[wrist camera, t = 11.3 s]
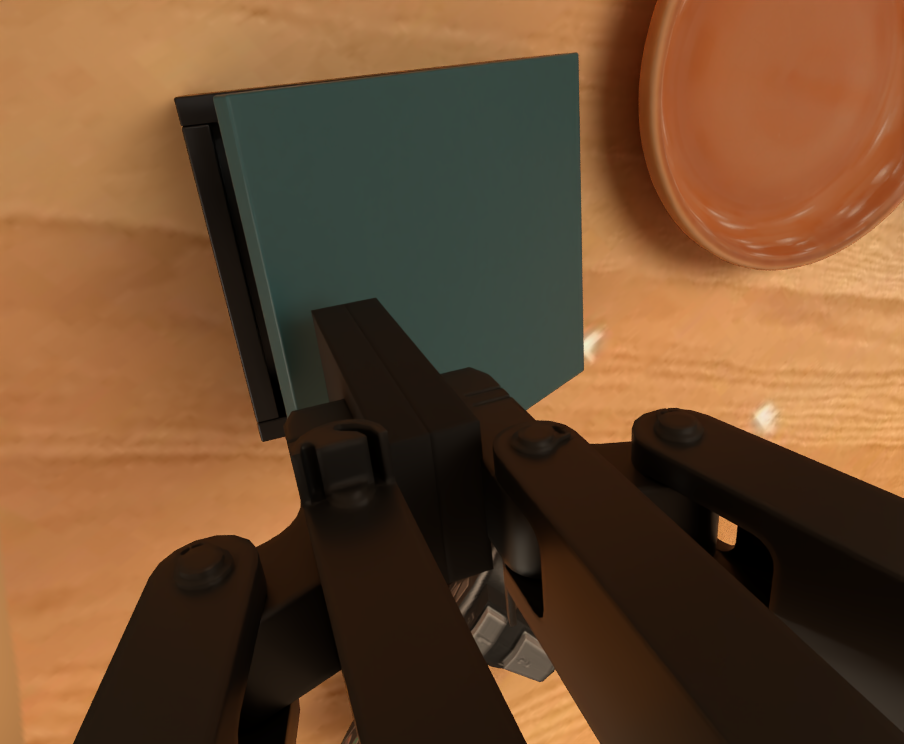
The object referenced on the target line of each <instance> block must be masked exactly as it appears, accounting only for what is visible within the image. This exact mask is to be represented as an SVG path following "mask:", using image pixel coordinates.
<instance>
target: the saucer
mask: <svg viewBox="0 0 904 744" xmlns="http://www.w3.org/2000/svg"><path fill="white" fill-rule="evenodd" d="M638 109H639V126H640V135H641V142H642V148H643V152H644V156H645V161H646V165H647V168H648V171H649V174H650V177H651V180H652V182H653V185H654V187H655V190H656V192H657V194H658V196H659V198H660V200H661V202H662V204H663V205H664V207H665V209H666V210H667V212H668V213H669V215H670V216H671V218H672V219H673V220H674V222H675V223H676V224H677V225H678V227H679V228H680V229H681V230H682V231H683V232H684V233H685V234H686V235H687V236H688V237H689V238H691V239H692V240H693V241H694V242H696V243H697V244H698V245H700V246H701V247H702V248H704V249H706V250H707V251H709V252H710V253H712V254H714V255H715V256H717V257H719V258H721V259H723V260H725V261H727V262H729V263H732V264H735V265H738V266H742V267H746V268H751V269H757V270H784V269H791V268H796V267H801V266H804V265H808V264H812V263H814V262H817V261H820V260H822V259H825V258H827V257H829V256H831V255H834V254H836V253H837V252H839V251H841V250H843V249H845V248H846V247H848V246H850V245H851V244H853V243H854V242H856V241H857V240H859V239H860V238H862V237H863V236H864V235H866V234H867V233H868V232H870V231H871V230H872V229H873V228H875V227H876V226H877V225H878V224H879V223H881V222H882V221H883V220H884V219H885V218H886V217H887V216H888V215H889V214H891V213H892V212H893V210H894V209H895V208H896V207H897V206H898V205H899V204H900V203H901V202H902V201H903V200H904V0H657V3H656V6H655V8H654V11H653V15H652V18H651V22H650V26H649V30H648V34H647V38H646V42H645V46H644V52H643V57H642V62H641V71H640V81H639V107H638Z"/></svg>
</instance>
